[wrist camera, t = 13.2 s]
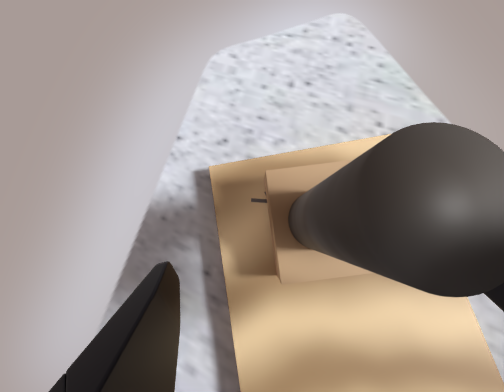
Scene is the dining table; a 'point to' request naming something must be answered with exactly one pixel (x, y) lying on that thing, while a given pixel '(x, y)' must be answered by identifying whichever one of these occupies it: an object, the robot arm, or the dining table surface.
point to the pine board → (334, 307)
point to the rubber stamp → (396, 213)
